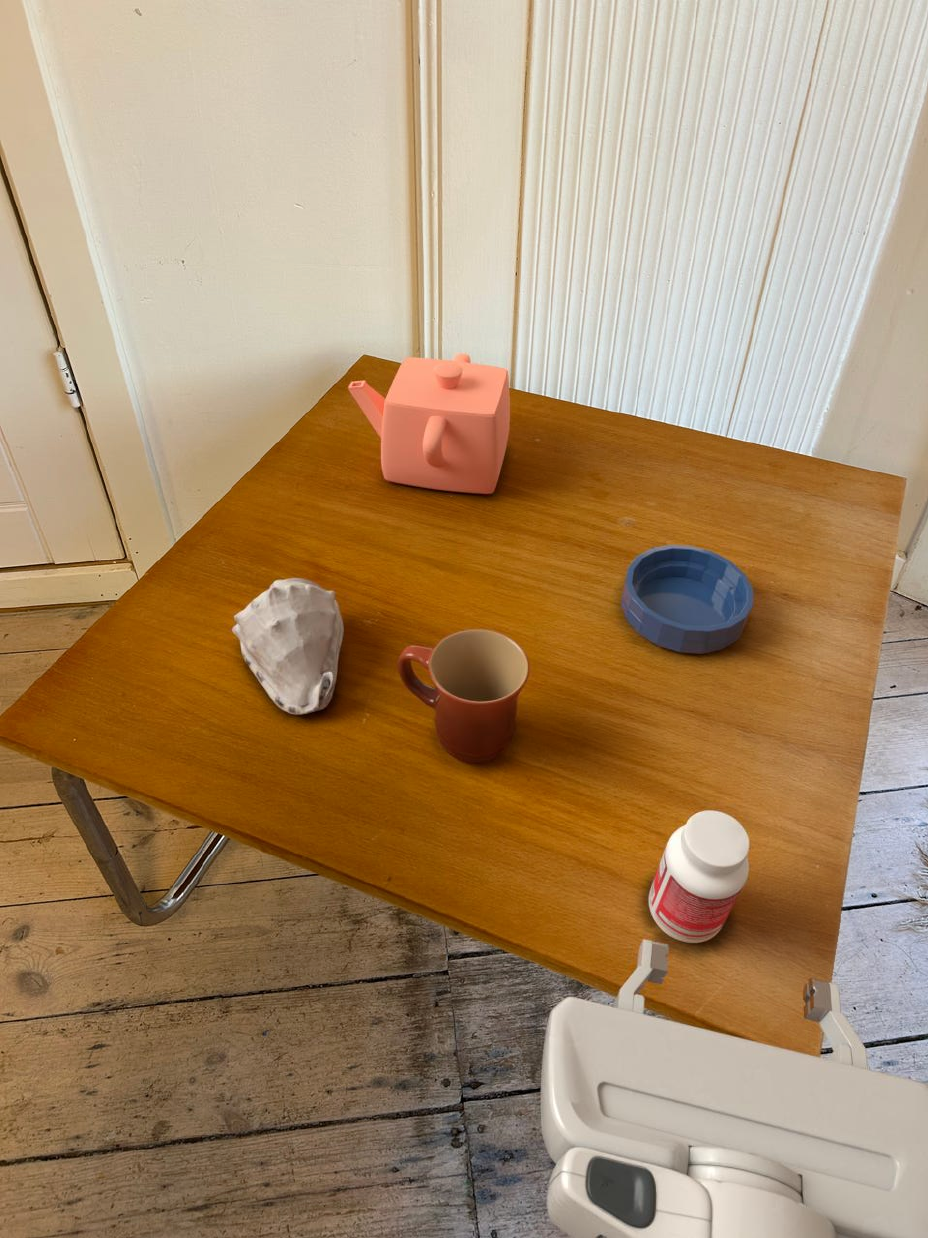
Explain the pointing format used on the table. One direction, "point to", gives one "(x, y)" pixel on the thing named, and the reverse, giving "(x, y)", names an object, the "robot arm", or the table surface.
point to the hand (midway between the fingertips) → (736, 964)
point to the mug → (470, 690)
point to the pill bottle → (700, 876)
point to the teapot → (441, 423)
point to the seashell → (293, 643)
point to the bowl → (686, 598)
